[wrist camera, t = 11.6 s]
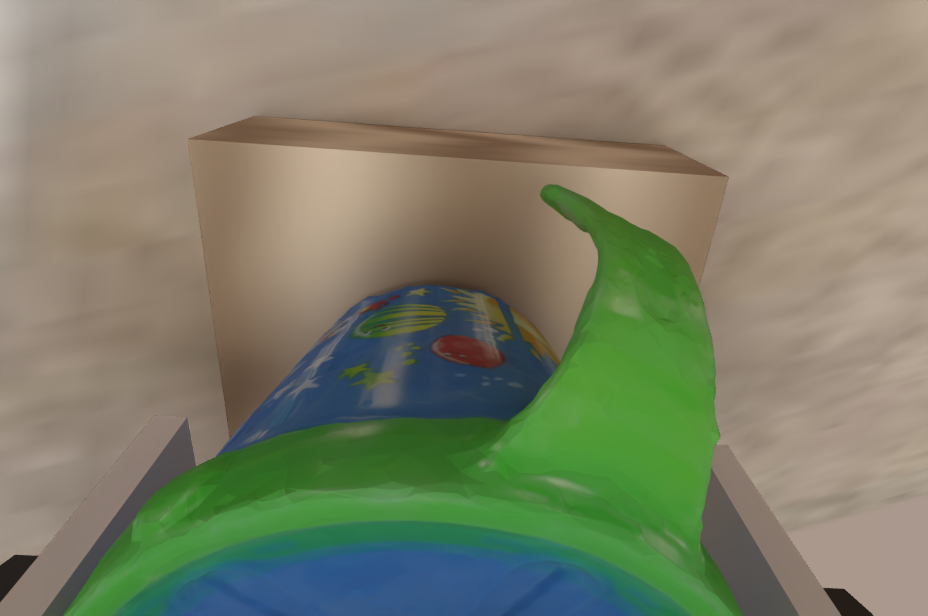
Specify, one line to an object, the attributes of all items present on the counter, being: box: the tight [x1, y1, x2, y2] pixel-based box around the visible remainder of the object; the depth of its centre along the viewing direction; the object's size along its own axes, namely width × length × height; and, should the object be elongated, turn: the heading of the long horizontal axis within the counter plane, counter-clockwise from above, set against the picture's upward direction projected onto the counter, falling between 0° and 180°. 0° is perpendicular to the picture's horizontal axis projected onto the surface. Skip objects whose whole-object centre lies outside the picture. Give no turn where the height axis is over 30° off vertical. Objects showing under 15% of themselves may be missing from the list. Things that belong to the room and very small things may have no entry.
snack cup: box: [63, 184, 743, 616], centre depth 13 cm, size 16×10×10 cm
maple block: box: [188, 116, 729, 438], centre depth 19 cm, size 14×14×5 cm
